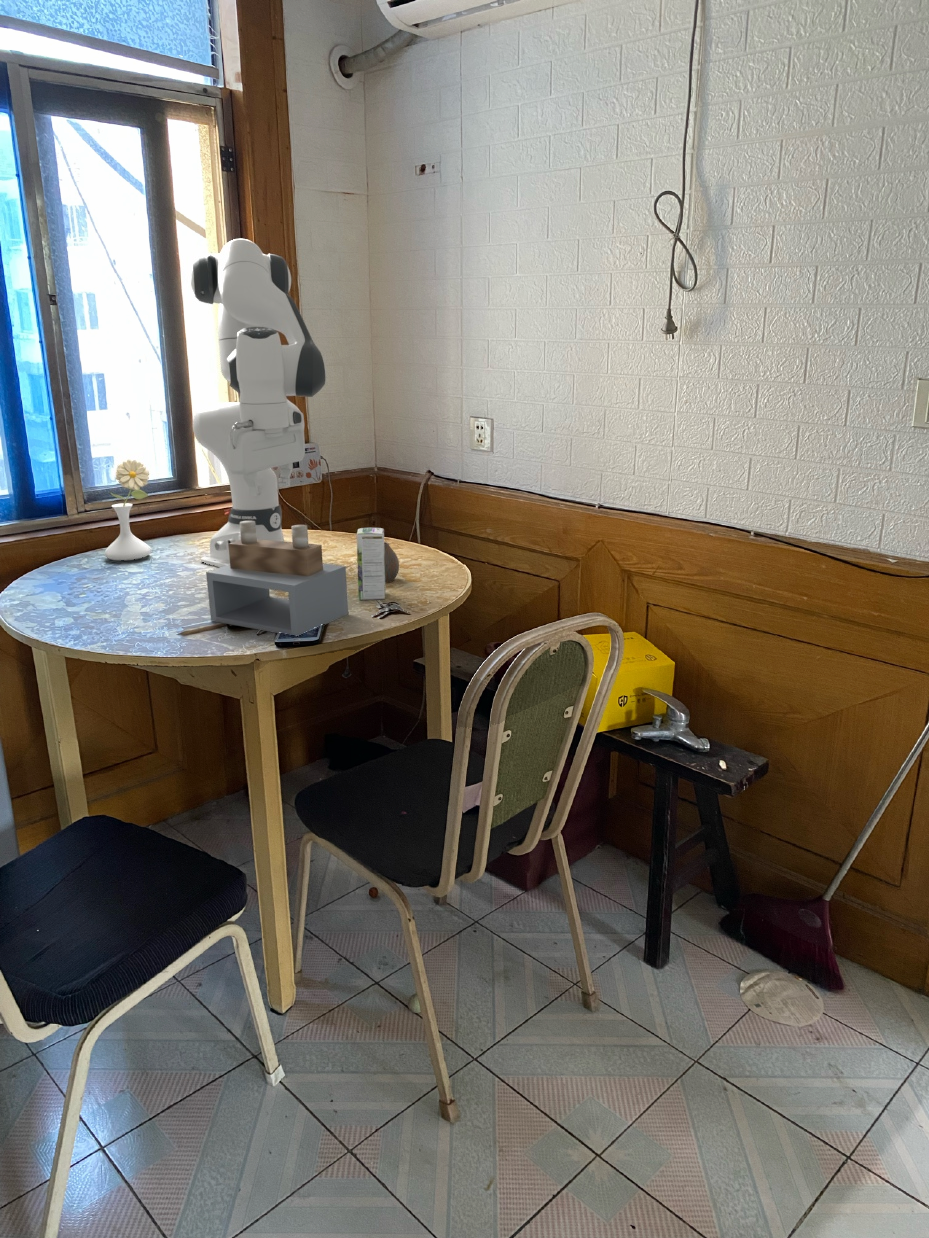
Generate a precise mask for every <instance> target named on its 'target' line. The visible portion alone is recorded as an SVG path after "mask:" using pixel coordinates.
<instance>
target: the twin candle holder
mask: <svg viewBox="0 0 929 1238" xmlns="http://www.w3.org/2000/svg"><path fill="white" fill-rule="evenodd" d="M240 532H241V540H238V541H235V542H232V543H229V544H228V547H229V558H230V568H231V569H241V570H251V571H260V572H270V573H280V574H289V575H299V576H310V575H312V574H315V573H317V572H319V571H321V570H323V563H324V562H323V561H324V560H323V546H322V544H318V543H316V544H315V543H309V535H308V534H309V533H308V532H309V531H308V525H307V524H295V525H291V539H292V541H285V540H284V541H273V540H261V539H257V537H256V525H255V521H242V522H240Z"/></svg>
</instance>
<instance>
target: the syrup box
mask: <svg viewBox="0 0 929 1238" xmlns="http://www.w3.org/2000/svg"><path fill="white" fill-rule="evenodd" d="M384 542H385V529H384V528H381V527H361V528H358V529H357V532H356V555H357V556H356V559H357V560H356V561H357V562H356V563H357V583H358V584H357V586H358V592H357V593H358V600H361V601H363V600H364V601H366V600H368V601H370V600H383V599H386V582H385V554H384Z"/></svg>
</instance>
